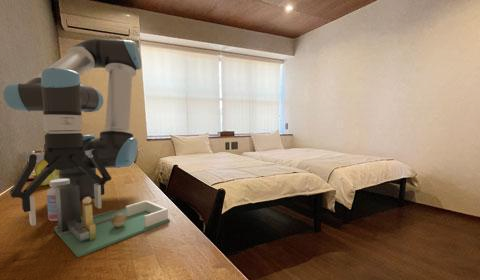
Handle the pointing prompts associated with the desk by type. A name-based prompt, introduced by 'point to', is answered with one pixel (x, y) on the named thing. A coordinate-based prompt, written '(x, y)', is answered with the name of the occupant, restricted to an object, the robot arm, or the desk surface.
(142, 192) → the desk surface
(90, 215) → the block
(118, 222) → the ball
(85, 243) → the board
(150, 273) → the desk surface
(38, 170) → the bottle
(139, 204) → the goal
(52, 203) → the pill bottle
